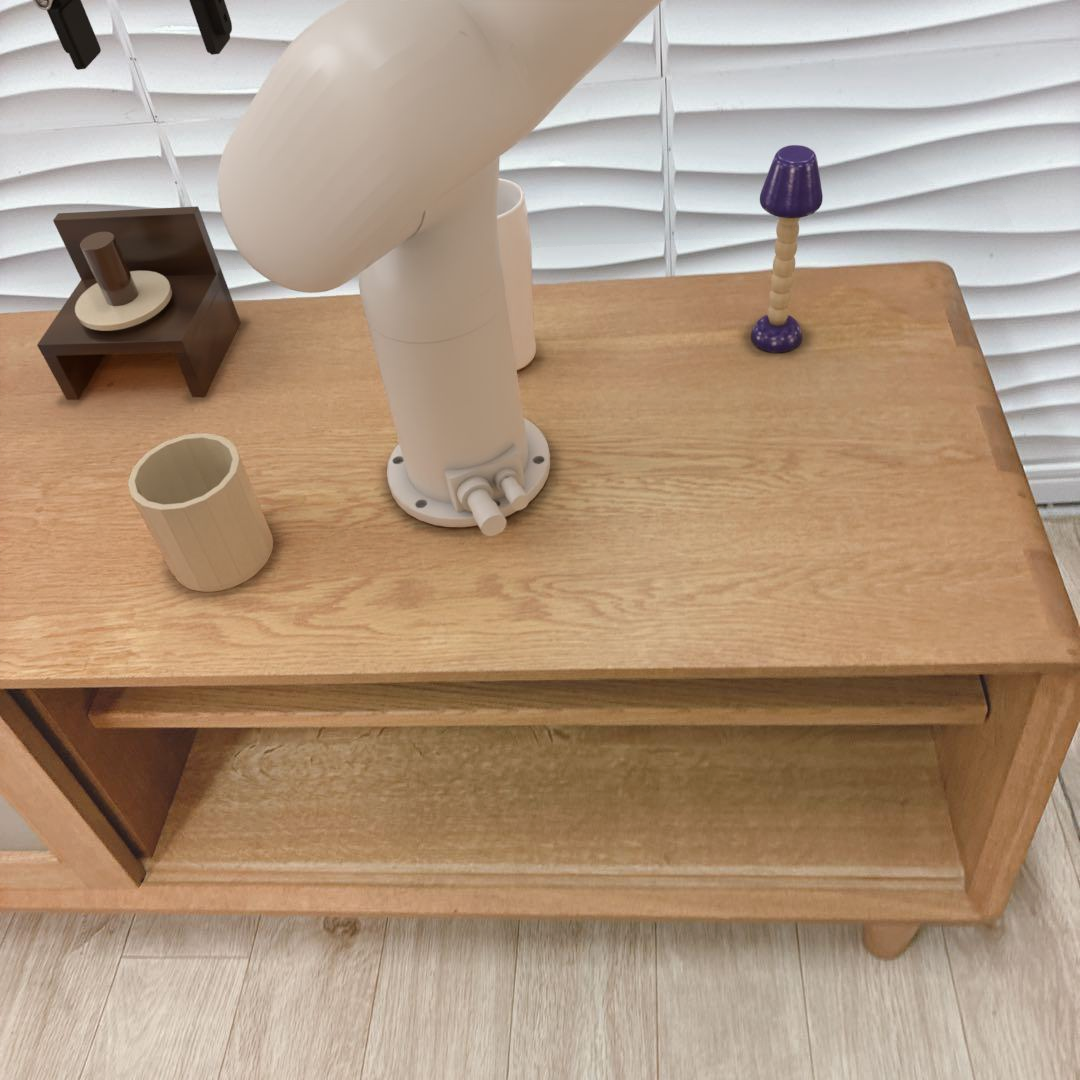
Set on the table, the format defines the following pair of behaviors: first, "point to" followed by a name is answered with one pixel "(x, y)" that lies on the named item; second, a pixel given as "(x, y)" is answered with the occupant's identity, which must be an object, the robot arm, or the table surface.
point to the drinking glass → (516, 268)
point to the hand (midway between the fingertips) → (154, 54)
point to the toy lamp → (786, 239)
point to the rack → (181, 327)
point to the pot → (202, 511)
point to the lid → (118, 288)
